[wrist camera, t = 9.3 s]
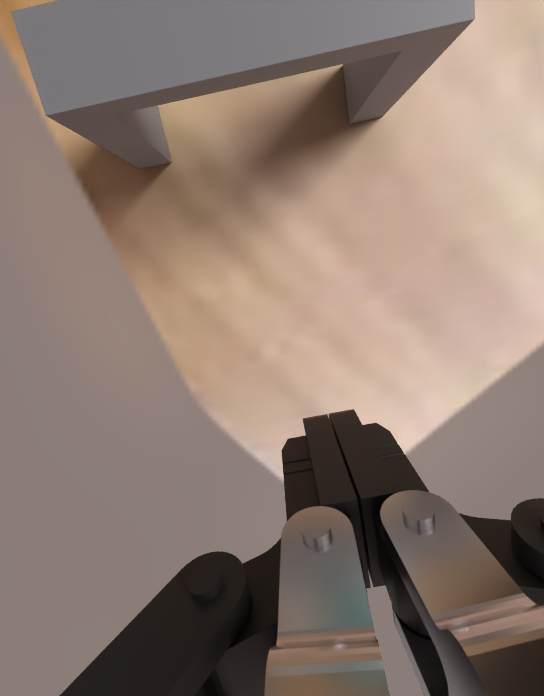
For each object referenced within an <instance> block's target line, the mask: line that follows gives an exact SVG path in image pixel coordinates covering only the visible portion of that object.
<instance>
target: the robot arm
mask: <svg viewBox="0 0 544 696" xmlns="http://www.w3.org/2000/svg"><path fill="white" fill-rule="evenodd" d="M303 423H304V428H305V434H306V436H301V437H295V438H290V439H288V440H287V442H286V444H285V445H284V447H283V449H282V462H283V474H284V488H285V501H286V513H287V522H286V524H285V526H284V528H283V530H282V535H281V539H280V540H279V541H278V542H277V543H276V544H275V545H274V546H273V547H272V548H271V549H270V550H268V551H267V552H265V553H263V554H262V555H260V556H258V557H255V558H253V559H251V560H249V561H247V562H245V563H243V564H242V563H241V561H240V560H239V559H238V558H237V557H236V556H234V555H232V554H230V553H226V552H211V553H207V554H204V555H201V556H199V557H197V558H195V559H194V560H192V561H191V562H190V563H188V564H187V565H186V566H185V567H184V568H183V569H181V570H180V571H179V573H178V574H177V575H176V576H175V577H174V578H173V579H172V580H171V581H170V582H169V583H168V584H167V585H166V586H165V587H164V588H163V589H162V590H161V591H160V592H159V593H158V594H157V595H156V597H154V598H153V599H152V601H151V602H150V603H149V604H148V605H147V606H146V607H145V608H144V609H143V610H142V611H141V612H140V613H139V614H138V615H137V616H136V617H135V618H134V619H133V620H132V621H131V622H130V623H129V624H128V625H127V626H126V627H125V629H124V630H123V631H122V632H121V633H120V634H119V635H118V636H117V637H116V638H115V639H114V640H113V641H112V642H111V643H110V644H109V645H108V646H107V647H106V648H105V649H104V650H103V651H102V652H101V653H100V654H99V655H98V657H97V658H96V659H95V660H94V661H93V662H92V663H91V664H90V665H89V666H88V667H87V668H86V669H85V670H84V671H83V672H82V673H81V674H80V675H79V676H78V677H77V678H76V679H75V680H74V681H73V682H72V683H71V685H70V686H69V687H68V688H67V689H66V690H65V691H64V692H63V693H62V694H61V695H60V696H390V695H389V690H388V686H387V680H386V676H385V671H384V667H383V662H382V657H381V652H380V648H379V644H378V640H377V639H376V636H375V631H374V627H373V622H372V617H371V612H370V607H369V603H368V596H367V590H366V588H370V580H369V574H370V577H371V580H372V583H373V587H377V586H383V585H386V588H387V591H388V594H389V597H390V600H391V602H392V610H393V617H394V623H395V626H396V629H397V631H398V634H399V636H400V638H401V641H402V643H403V646H404V648H405V651H406V653H407V656H408V658H409V660H410V663H411V665H412V667H413V670H414V673H415V675H416V677H417V680H418V682H419V685H420V687H421V689H422V692H423V694H424V696H544V499H542V498H539V499H530V500H526V501H523V502H521V503H519V504H518V505H517V506H516V507H515V508H514V509H513V511H512V513H511V521H509V520H499V519H487V518H477V517H470V516H467V515H463V514H459V513H458V512H457V511H456V510H455V509H454V507H453V506H452V505H451V504H450V503H449V502H447V501H446V500H444V499H443V498H441V497H440V496H437V495H435V494H433V493H430V492H429V491H428V489H427V488H426V486H425V485H424V483H423V482H422V480H421V478H420V477H419V476H418V474H417V472H416V471H415V469H414V468H413V466H412V465H411V463H410V462H409V460H408V459H407V457H406V455H404V453H403V451H402V449H401V448H400V446H399V445H398V444H397V442H396V440H395V439H394V437H393V436H392V434H391V432H390V431H389V430H387V429H385V428H384V427H382V426H381V425H379V424H377V423H372V424H366V425H362V424H361V422H360V420H359V418H358V416H357V414H356V412H355V411H354V409H352V410H346V411H341V412H336V413H330V414H329V418H328V415H327V414H325V415H320V416H314V417H309V418H303ZM368 571H369V574H368Z"/></svg>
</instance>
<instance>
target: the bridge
mask: <svg viewBox="0 0 544 696" xmlns="http://www.w3.org/2000/svg"><path fill="white" fill-rule="evenodd" d="M11 13H12V16H13V19H14V22H15V25H16V28H17V31H18V34H19V37H20V40H21V43H22V46H23V49H24V52H25V55H26V58H27V61H28V64H29V67H30V70H31V73H32V76H33V79H34V82H35V84H36V87H37V90H38V93H39V96H40V99H41V102H42V105H43V108H44V111H45V114H46V116H48V117H49V118H51V119H53V120H55V121H56V122H58V123H60V124H62V125H63V126H65V127H67V128H69V129H70V130H72V131H74V132H76V133H78V134H79V135H81V136H83V137H85V138H86V139H88V140H90V141H92V142H93V143H95V144H97V145H99V146H100V147H102V148H104V149H106V150H107V151H109V152H111V153H113V154H114V155H116V156H118V157H120V158H121V159H123V160H125V161H127V162H128V163H130V164H132V165H134V166H135V167H137V168H139V169H144V168H148V167H153V166H157V165H162V164H167V163H171V162H172V161H171V157H170V153H169V149H168V146H167V142H166V138H165V134H164V130H163V126H162V122H161V118H160V114H159V110H158V107H157V105H161V104H166V103H170V102H175V101H179V100H184V99H188V98H193V97H197V96H202V95H206V94H211V93H215V92H220V91H224V90H229V89H233V88H237V87H242V86H246V85H251V84H255V83H260V82H264V81H269V80H273V79H278V78H282V77H287V76H291V75H296V74H300V73H305V72H309V71H313V70H318V69H322V68H327V67H331V66H336V65H340V64H343V73H344V82H345V91H346V99H347V108H348V117H349V124H351V123H356V122H360V121H365V120H370V119H374V118H379V117H383V116H384V115H385V113H386V112H387V111H388V110H389V109H390V108H391V107H392V106H393V105H394V104H395V103H396V102H397V101H398V100H399V99H400V98H401V96H402V95H403V94H404V93H405V92H406V91H407V90H408V89H409V88H410V87H411V86H412V85H413V84H414V83H415V82H416V81H417V80H418V78H419V77H420V76H421V75H422V74H423V73H424V72H425V71H426V70H427V69H428V68H429V67H430V66H431V65H432V64H433V63H434V62H435V60H436V59H437V58H438V57H439V56H440V55H441V54H442V53H443V52H444V51H445V50H446V49H447V48H448V47H449V46H450V45H451V43H452V42H453V41H454V40H455V39H456V38H457V37H458V36H459V35H460V34H461V33H462V32H463V31H464V30H465V29H466V28H467V27H468V25H469V24H470V23H471V22H472V21H473V20H474V19H475V4H474V0H58V1H54V2H49V3H45V4H41V5H37V6H33V7H28V8H24V9H20V10H16V11H12V12H11Z"/></svg>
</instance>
